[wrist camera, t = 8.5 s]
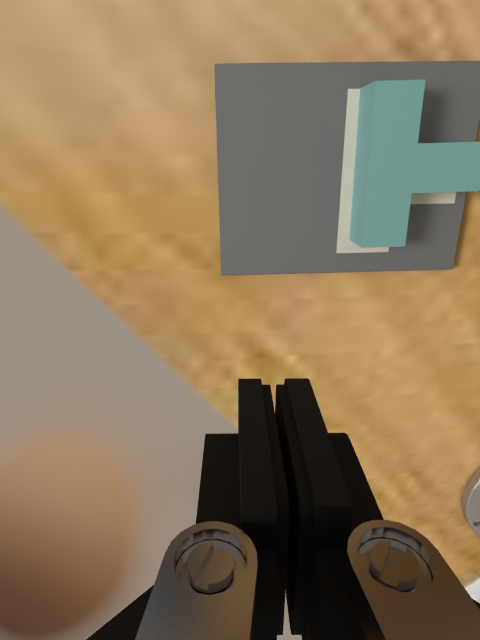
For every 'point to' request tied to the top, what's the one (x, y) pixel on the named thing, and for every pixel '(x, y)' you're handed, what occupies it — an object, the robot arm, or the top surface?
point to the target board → (326, 165)
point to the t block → (400, 163)
